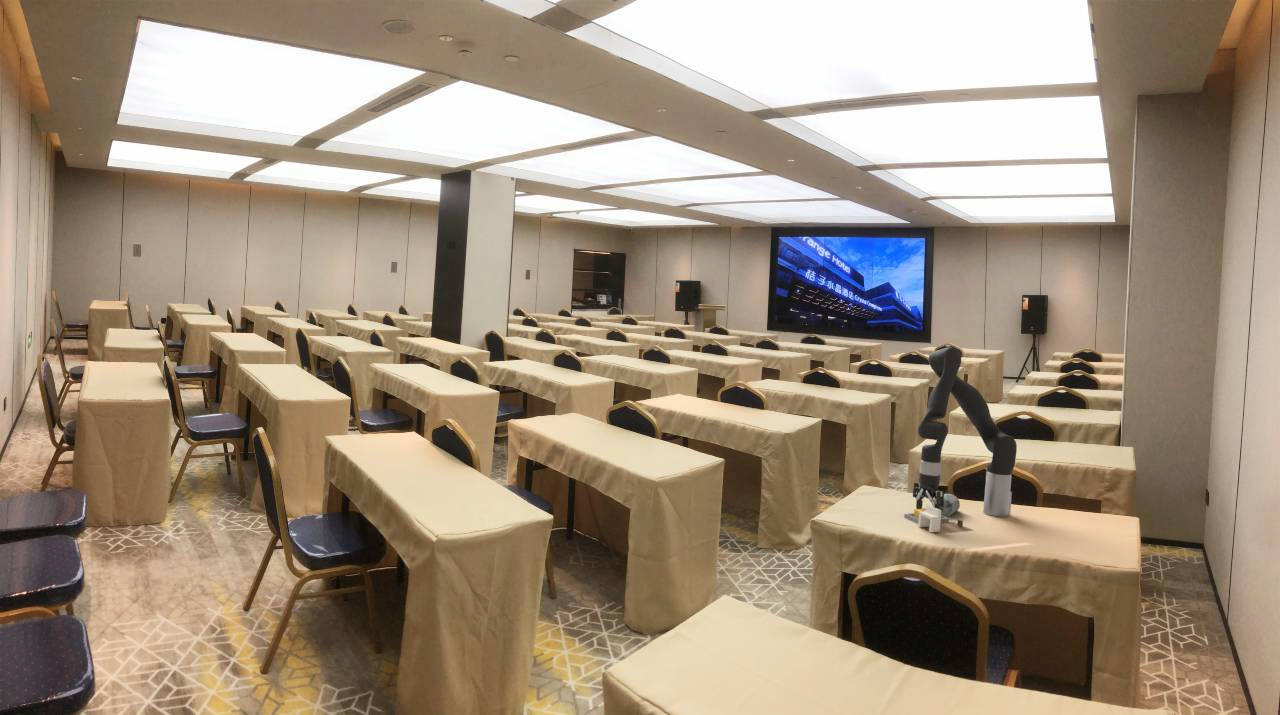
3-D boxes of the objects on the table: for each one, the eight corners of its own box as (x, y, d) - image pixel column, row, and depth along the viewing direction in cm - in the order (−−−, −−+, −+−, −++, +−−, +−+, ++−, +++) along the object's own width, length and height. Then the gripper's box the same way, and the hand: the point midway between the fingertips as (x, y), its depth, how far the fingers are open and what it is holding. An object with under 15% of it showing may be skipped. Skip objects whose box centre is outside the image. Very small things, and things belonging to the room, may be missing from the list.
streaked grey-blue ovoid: (955, 514, 283) (947, 489, 287) (932, 519, 289) (924, 495, 293) (968, 515, 292) (960, 491, 296) (946, 521, 298) (938, 497, 302)
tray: (931, 517, 289) (932, 511, 289) (948, 524, 280) (949, 518, 280) (904, 519, 284) (904, 513, 284) (920, 527, 276) (920, 521, 276)
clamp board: (954, 524, 281) (954, 515, 280) (973, 532, 271) (974, 523, 271) (916, 527, 275) (916, 519, 274) (935, 536, 265) (935, 527, 265)
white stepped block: (926, 525, 274) (928, 504, 273) (939, 531, 268) (941, 510, 267) (918, 526, 273) (919, 505, 272) (931, 532, 267) (932, 511, 266)
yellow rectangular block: (932, 518, 286) (933, 507, 285) (938, 521, 282) (939, 510, 282) (913, 519, 283) (914, 509, 282) (920, 522, 279) (920, 512, 279)
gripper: (909, 468, 286) (906, 508, 287) (935, 477, 273) (932, 519, 274) (924, 467, 288) (921, 507, 290) (951, 476, 275) (947, 518, 277)
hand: (926, 513), depth 282 cm, fingers open, 8 cm apart
